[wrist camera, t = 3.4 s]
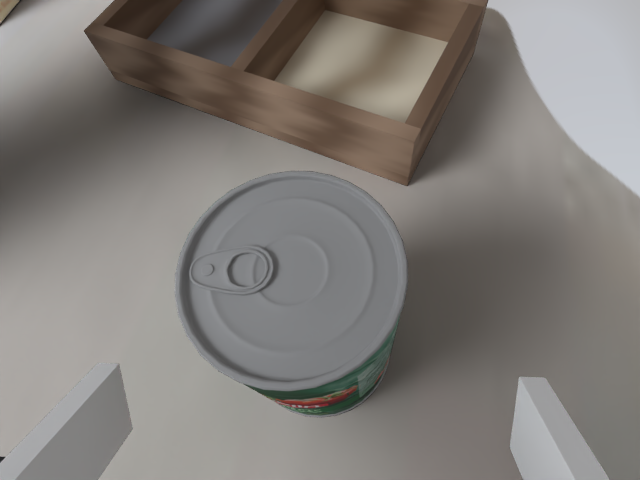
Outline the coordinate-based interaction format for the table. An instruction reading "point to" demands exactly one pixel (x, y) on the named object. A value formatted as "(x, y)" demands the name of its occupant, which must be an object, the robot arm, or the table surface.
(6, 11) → the coffeecake box
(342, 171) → the table surface
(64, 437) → the robot arm
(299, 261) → the canned tomato
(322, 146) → the slot caddy
